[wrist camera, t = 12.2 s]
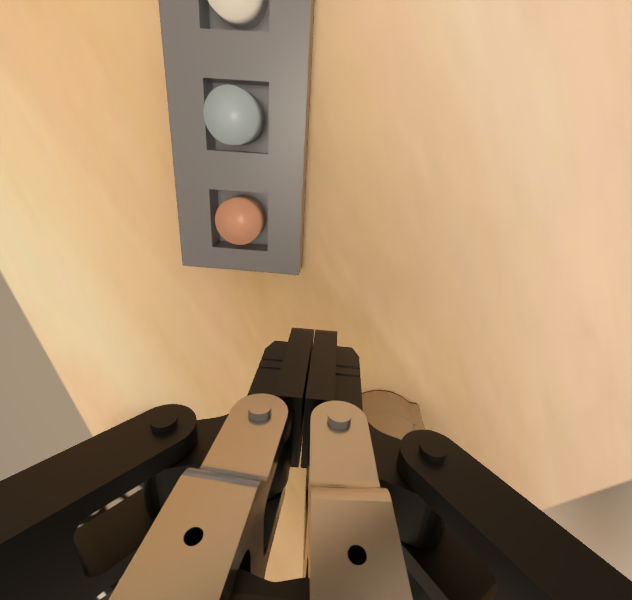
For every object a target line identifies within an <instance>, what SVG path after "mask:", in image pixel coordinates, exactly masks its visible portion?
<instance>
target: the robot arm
mask: <svg viewBox="0 0 632 600" xmlns="http://www.w3.org/2000/svg"><path fill="white" fill-rule="evenodd" d="M313 338H314V343H313ZM302 438H303V441H302ZM301 445H302V457H301V468H307V475H306V489H305V511H304V548H303V578H299V579H293V580H287V581H282V582H270V581H267V580H265V579H264V577H265V571H266V566H267V562H268V558H269V554H270V550H271V546H272V542H273V538H274V534H275V530H276V527H277V523H278V519H279V515H280V511H281V507H282V503H283V499H284V495H285V486H286V484H287V481H288V476H289V470H290V467H299V460H300V452H301ZM140 484H141V486H142V489H140V490H139V491H137V492H135V493H134V494H132V495H131V496H129V497H127V498H126V499H124V500H123V501H121V502H119V503H118V504H116V505H115V506H113V507H111V508H110V509H108V510H106V511H105V512H103V513H102V514H100V515H98V516H97V517H95V518H94V519H92V520H90V521H89V522H87V523H86V524H84V525H82V526H80V527H78V526H79V525H80V524H81V522H82V521H83V520H84V519H86V518H87V517H88V516H90V515H91V514H93V513H94V512H96V511H98V510H99V509H101V508H102V507H104V506H106V505H107V504H109V503H111V502H112V501H114V500H116V499H117V498H119V497H120V496H122V495H124V494H125V493H127V492H129V491H130V490H132V489H134V488H135V487H137V486H138V485H140ZM77 527H78V528H77ZM119 579H120V581H119V583H118V584H117V586H116V588H115V589H114V591H112V592H110V593H109V594H107V595H106V596H104V597H103V598H101V599H100V600H632V581H630V580H629V579H628V578H627V577H625V576H624V575H623V574H621V573H620V572H619V571H618V570H616V569H615V568H614V567H612V566H611V565H610V564H609V563H607V562H606V561H605V560H604V559H602V558H601V557H600V556H598V555H597V554H596V553H595V552H593V551H592V550H591V549H590V548H588V547H587V546H586V545H584V544H583V543H582V542H581V541H579V540H578V539H577V538H575V537H574V536H573V535H572V534H570V533H569V532H568V531H567V530H565V529H564V528H563V527H561V526H560V525H559V524H558V523H556V522H555V521H554V520H553V519H551V518H550V517H549V516H547V515H546V514H545V513H544V512H542V511H541V510H540V509H538V508H537V507H536V506H535V505H533V504H532V503H531V502H530V501H528V500H527V499H526V498H524V497H523V496H522V495H521V494H519V493H518V492H517V491H515V490H514V489H513V488H512V487H510V486H509V485H508V484H507V483H505V482H504V481H503V480H501V479H500V478H499V477H498V476H496V475H495V474H494V473H493V472H491V471H490V470H489V469H487V468H486V467H485V466H484V465H482V464H481V463H480V462H478V461H477V460H476V459H475V458H473V457H472V456H471V455H470V454H468V453H467V452H466V451H464V450H463V449H462V448H461V447H459V446H458V445H457V444H455V443H454V442H453V441H452V440H450V439H449V438H447V437H446V436H444V435H442V434H440V433H437V432H434V431H430V430H425V428H424V424H423V421H422V417H421V414H420V410H419V407H418V404H412V403H409V402H408V401H406V400H405V399H404V398H402V397H401V396H399V395H397V394H395V393H391V392H387V391H371V392H367V393H364V394H362V392H361V378H360V364H359V356H358V355H357V354H356V352H355V351H354V350H353V348H350V347H339V346H337V331H326V330H315V337H314V329H302V328H292V330H291V333H290V337H289V340H288V342H283V341H274V342H273V343H272V344H270V345H269V346H268V347H267V348H265V351H264V354H263V356H262V360H261V361H260V364H259V368H258V369H257V372H256V374H255V377H254V380H253V382H252V385H251V388H250V390H249V393H248V395H247V396H246V397H244V398H242V399H240V400H239V401H237V402H236V403H235V405H234V406H233V407H232V409H231V411H230V413H229V414H227V415H225V416H221V417H216V418H210V419H203V420H196V415H195V413H194V412H193V411H192V410H191V409H190V408H188V407H186V406H183V405H178V404H168V405H162V406H158V407H155V408H153V409H150V410H148V411H146V412H144V413H142V414H140V415H138V416H136V417H134V418H132V419H130V420H127V421H125V422H123V423H121V424H119V425H117V426H115V427H113V428H111V429H109V430H107V431H104V432H102V433H100V434H98V435H96V436H94V437H92V438H90V439H88V440H86V441H84V442H81V443H79V444H77V445H75V446H73V447H71V448H69V449H67V450H65V451H63V452H61V453H58V454H56V455H54V456H52V457H50V458H48V459H46V460H44V461H42V462H40V463H38V464H36V465H33V466H31V467H29V468H27V469H25V470H23V471H21V472H19V473H17V474H15V475H12V476H10V477H8V478H6V479H4V480H2V481H0V600H93V599H95V598H96V597H97V596H99V595H100V594H101V593H102V592H104V591H105V590H106V589H108V588H109V587H110V586H112V585H113V584H114V583H116V582H117V581H118V580H119Z"/></svg>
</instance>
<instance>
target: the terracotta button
mask: <svg viewBox="0 0 632 600" xmlns="http://www.w3.org/2000/svg"><path fill="white" fill-rule="evenodd" d="M266 221H267V215H266V211H265V208H264V206H263V205H262V203H261V202H260V201H259V200H258V199H256V198H255V197H253V196H250V195H245V194H242V195H237V196H235V197H233V198H231V199H229V200H227V201H225V202H223V203H222V204H221V205H220V206H219V207H218V209H217V211H216V214H215V224H216V228H217V230H218V232H219V234H220V235H221V236H222V237H223V238H224V239H225V240H226V241H228V242H230V243H232V244H236V245H244V244H248V243H250V242H251V241H253V240H254V239H255V238H256V237H257V236H258V235H259V234H260V233H261V232H262V230H263V229H264V227H265V225H266Z"/></svg>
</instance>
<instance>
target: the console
mask: <svg viewBox="0 0 632 600" xmlns="http://www.w3.org/2000/svg"><path fill="white" fill-rule="evenodd" d="M314 1H315V0H268V5H267V10H266V13H265V15H264V17H263V19H262V20H261V21H260V23H259V24H258V25H256V26H255V27H253V28H251V29H248V30H239V29H236V28H233V27H232V26H230V25H229V24H228V23H226V21H225V20H224V19H223V18H222V17H221V16H220V15H219V14H218V13H217V12H216V11H215V10H214V9H213V8H212V7H211V5H210V4H209V2H208V0H159V11H160V22H161V33H162V44H163V55H164V66H165V77H166V88H167V99H168V110H169V120H170V131H171V142H172V153H173V164H174V175H175V186H176V197H177V208H178V219H179V229H180V240H181V251H182V262H183V265H184V266H196V267H208V268H220V269H232V270H244V271H256V272H268V273H280V274H292V275H299V272H300V269H301V267H302V250H303V229H304V209H305V188H306V167H307V146H308V126H309V105H310V84H311V63H312V42H313V22H314ZM226 84H229V85H234V86H237V87H239V88H241V89H243V90H245V91H247V92H249V93H250V94H252V95H253V96H254V97H255V98H256V99H257V100H258V102H259V103H260V105H261V107H262V110H263V114H264V125H263V129H262V131H261V133H260V135H259V136H258V138H257V139H256V140H254V141H253V142H251V143H249V144H245V145H228V144H224V143H222V142H220V141H218V140H217V139H216V138H214V137H213V136H212V134H211V133H210V132H209V130H208V128H207V126H206V124H205V121H204V115H203V109H204V103H205V100H206V98H207V96H208V95H209V93H210V92H211V91H212V90H213V89H215V88H216V87H218V86H221V85H226ZM242 194H245V195H250V196H253V197H255V198H256V199H258V200H259V201H260V202H261V203H262V205H263V206H264V208H265V211H266V215H267V221H266V225H265V227H264V229H263V230H262V232H261V233H260V234H259V235H258V236H257V237H256V238H255V239H254V240H253V241H251V242H250V243H248V244H244V245H236V244H232V243H230V242H228V241H226V240H225V239H224V238H223V237H222V236H221V235H220V234H219V232H218V230H217V228H216V224H215V214H216V211H217V209H218V207H219V206H220V205H221V204H222V203H223V202H225V201H227V200H229V199H231V198H233V197H235V196H237V195H242Z"/></svg>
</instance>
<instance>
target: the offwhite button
mask: <svg viewBox="0 0 632 600" xmlns="http://www.w3.org/2000/svg"><path fill="white" fill-rule="evenodd" d="M208 2H209V4H210V5H211V7H212V8H213V9H214V10H215V11H216V12H217V13H218V14H219V15H220V16H221V17H222V18H223V19H224V20H225V21H226V23H228V24H229V25H230V26H232V27H233V28H236V29H239V30H248V29H251V28H253V27H255V26H256V25H258V24H259V23H260V21H261V20H262V19H263V17H264V15H265V13H266V10H267V5H268V0H208Z"/></svg>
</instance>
